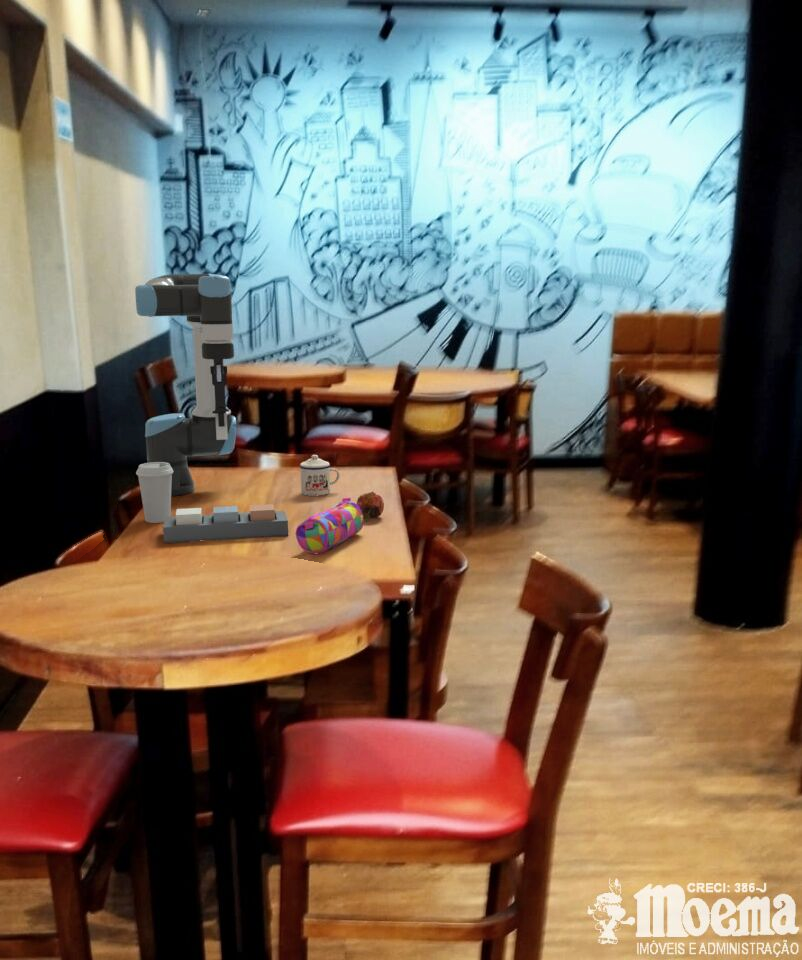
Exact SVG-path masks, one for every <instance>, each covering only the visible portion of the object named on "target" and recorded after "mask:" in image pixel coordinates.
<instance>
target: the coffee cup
mask: <svg viewBox="0 0 802 960" xmlns="http://www.w3.org/2000/svg"><path fill="white" fill-rule="evenodd" d="M172 473H173V469H172V467H171V466H170V464H169V463H165V462H151V463H148V462H144V463H141V464H139V465H138V468H137V470H136V472H135V474H136V475H137V476H138V484H139V488H140V489H139V490H140V496H141V502H142V507H143V513H144V514H143V515H144V520H145V522H146V523H148V522H149V524H160V523H164V522H165V517H172V516H171V514H172V509H171V508H172V496H171V481H172Z"/></svg>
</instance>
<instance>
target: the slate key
mask: <svg viewBox="0 0 802 960" xmlns="http://www.w3.org/2000/svg"><path fill="white" fill-rule="evenodd" d="M212 512H213V514H212V515H213V516H214V523H225V522H239V520H238V513H239V506H238V505H232V506H230V505H229V506H228V505H227V506H214V507H213V510H212Z"/></svg>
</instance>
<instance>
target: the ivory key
mask: <svg viewBox="0 0 802 960" xmlns="http://www.w3.org/2000/svg"><path fill="white" fill-rule="evenodd" d="M202 512H203V511H202V507H191V508H189V507H188V508H176V512H175V517H176V525H189V524H202V515H203V514H202Z"/></svg>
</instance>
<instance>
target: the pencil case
mask: <svg viewBox="0 0 802 960" xmlns="http://www.w3.org/2000/svg"><path fill="white" fill-rule="evenodd" d="M363 527H364V517H363V515H362V511H361V509H360V507H359V506H358V505H357V502H356V503H355V502H353V501H351V497H343V498H342V500H340V501H339V502H338V503H336V504H335V505H333V506H331V507H330V508H329V509H326V510H323V511H322V512H319V513H317V514H315V515H311V516H309V517H308V518H306V519H305V520H304V521H302V522H301V523H299V524H298V525H297V527H296V530H295V537H296V540H297V543H298V545H299V547H300V548H301V549H302V550H303V551H304V552H306V553H309V554H311V553H320V554H323V553H324V552H325V551H327V550H329V549H332V548H333V547H336V546H338V544H340V543H342V542H344V541H345V540H347V539H349V538H351V537H354V536H355V535H357V534H358V533H359V532H360V531H361V530H362V529H363Z"/></svg>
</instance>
